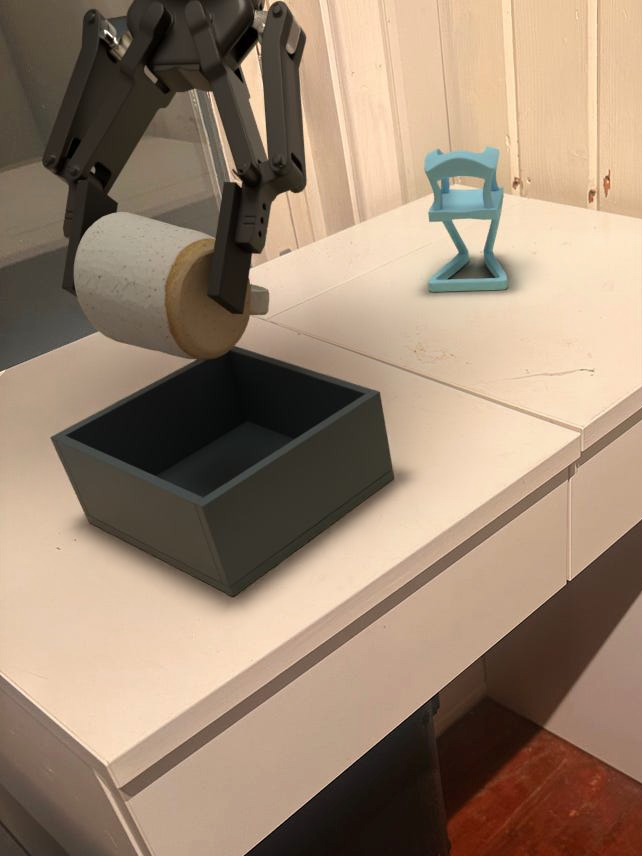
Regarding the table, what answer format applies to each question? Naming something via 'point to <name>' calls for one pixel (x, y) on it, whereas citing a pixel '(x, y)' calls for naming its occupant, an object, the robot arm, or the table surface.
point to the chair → (466, 213)
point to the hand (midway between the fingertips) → (152, 301)
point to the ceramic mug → (157, 288)
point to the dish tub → (228, 463)
